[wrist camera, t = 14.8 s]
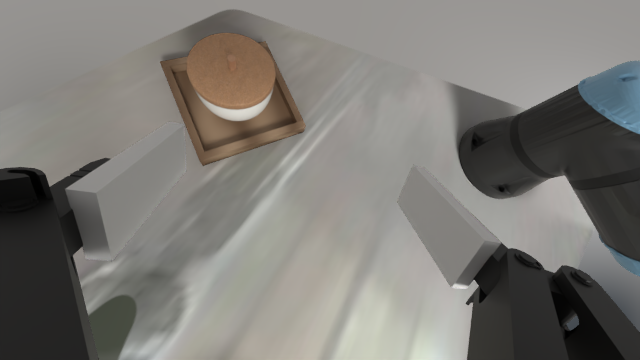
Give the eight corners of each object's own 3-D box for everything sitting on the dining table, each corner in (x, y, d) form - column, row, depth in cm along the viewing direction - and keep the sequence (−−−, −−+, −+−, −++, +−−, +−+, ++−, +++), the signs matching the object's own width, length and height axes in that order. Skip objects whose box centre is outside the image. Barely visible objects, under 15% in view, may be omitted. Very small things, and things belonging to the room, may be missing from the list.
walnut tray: (265, 51, 43) (265, 41, 41) (303, 131, 40) (305, 125, 38) (165, 71, 38) (159, 61, 35) (203, 165, 35) (199, 160, 33)
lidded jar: (186, 116, 36) (164, 74, 27) (217, 61, 39) (206, 7, 31) (257, 143, 38) (257, 111, 29) (281, 87, 41) (288, 44, 32)
